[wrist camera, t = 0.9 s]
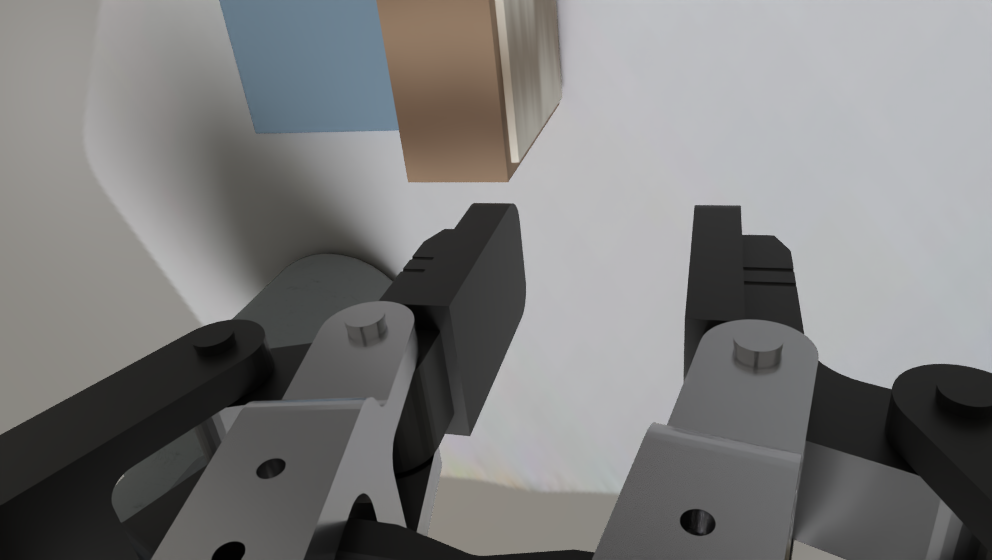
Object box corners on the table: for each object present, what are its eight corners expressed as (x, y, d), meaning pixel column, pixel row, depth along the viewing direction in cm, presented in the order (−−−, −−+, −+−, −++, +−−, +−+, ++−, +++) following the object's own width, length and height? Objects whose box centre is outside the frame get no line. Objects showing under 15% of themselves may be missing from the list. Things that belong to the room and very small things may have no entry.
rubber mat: (206, -67, 36) (201, -66, 35) (435, -93, 32) (432, -92, 32) (259, 131, 41) (256, 133, 40) (464, 126, 37) (461, 129, 37)
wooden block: (459, -70, 33) (368, -43, 24) (554, -80, 31) (492, -55, 23) (481, 106, 36) (408, 182, 28) (565, 103, 35) (516, 182, 27)
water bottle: (370, 221, 42) (-82, 694, 18) (458, 353, 45) (167, 901, 21) (249, 280, 46) (-233, 717, 23) (337, 396, 49) (-10, 884, 26)
